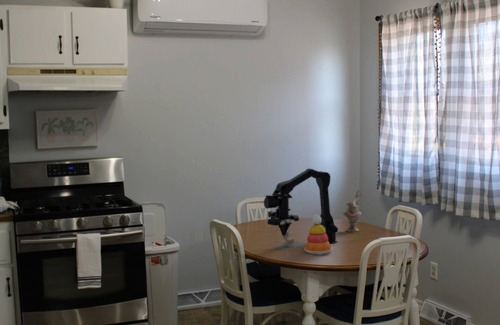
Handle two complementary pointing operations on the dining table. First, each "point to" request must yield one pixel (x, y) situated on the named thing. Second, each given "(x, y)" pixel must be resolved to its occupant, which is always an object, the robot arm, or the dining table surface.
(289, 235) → the block
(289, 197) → the robot arm
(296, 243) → the mat
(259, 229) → the dining table surface
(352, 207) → the decorative bust
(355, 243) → the dining table surface
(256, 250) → the dining table surface
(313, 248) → the stacking toy
